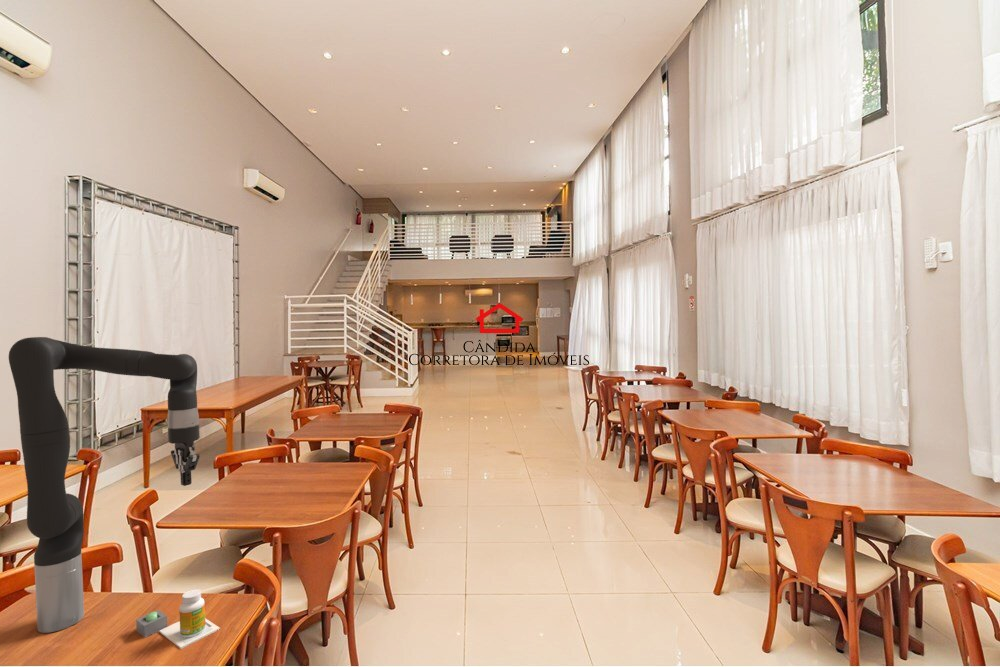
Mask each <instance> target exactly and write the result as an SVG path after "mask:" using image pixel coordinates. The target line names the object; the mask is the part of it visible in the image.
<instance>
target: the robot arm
mask: <svg viewBox="0 0 1000 667" xmlns="http://www.w3.org/2000/svg"><path fill="white" fill-rule="evenodd" d="M8 361H9V362H8V363H9V367H10V371H11V375H12V378H13V382H14V386H15V391H16V395H17V409H18V418H19V419H18V420H19V431H20V432H19V433H20V444H21V450H22V456H23V463H24V470H25V471H24V472H25V479H26V485H27V503H26V525H27V529H28V530H29V532H30V533H31V534H32V535H33V536H34V537H36V538H38V544H37V547H36V549H35V551H34V554H33V560H34V561H33V562H34V564H33V565H34V582H35V583H34V584H35V602H36V603H35V604H36V605H35V606H36V607H35V608H36V625H37V632H38V633H41V634H42V633H43V634H46V633H47V634H48V633H54V632H58V631H62V630H64V629H68V628H70V627H72V626H74V625H75V624H77V623H79V622H80V621H81V620H83V618H84V617H85V607H84V606H85V604H84V601H85V600H84V599H85V598H84V580H83V563H82V562H83V561H82V558H83V557H82V545H83V544H82V543H83V540H84V529H85V528H84V508H83V504H82V501H81V500H80V498H78V497H77V496H76V495H74V494H71V493H67V491H66V483H65V482H66V481H65V480H66V478H65V477H66V472H67V467H68V463H69V458H70V452H71V451H70V450H71V436H70V433H71V432H70V427H69V420H68V417H67V415H66V412H65V410H64V407H63V405H62V404H61V402H60V400H59V399H58V396H57V393H56V390H55V378H54V377H55V376H54V371H55V370H72V369H73V370H88V371H89V370H90V371H96V372H103V373H107V374H108V373H109V374H113V375H122V376H131V377H132V376H133V377H151V378H158V379H164V380H169V390H168V393H167V420H166V421H167V437H168V440H167V442H168V443H169V444H174V450H173V449H172V450H171V451H170V455H171V458H172V461H173V463H174V465H175V466H174V467H175V469H176V470H178V472H179V475H180V485H181V486H183V487H186V486H189V485H191V484H192V472H193V471H195V470H196V467H197V465H198V462H199V459H200V457H201V456H200V454H199V453H197V454H196V446H195V443H194V442H195V441H198V440H199V439H200V437H201V436H200V416H199V410H198V395H197V384H198V382H197V381H198V380H197V379H198V365H197V360H195V358H194V357H193V356H192V355H190V354H187V353H186V354H185V353H179V354H166V353H155V352H152V351H148V350H137V349H127V348H126V349H125V348H111V347H109V348H108V347H107V348H106V347H97V346H96V347H95V346H88V345H80V344H75V343H71V342H67V341H66V342H65V341H62V340H58V339H53V338H50V337H47V336H34V337H33V336H31V337H25V338H21V339H20V340H17V341H16V342H14V344H12V346H11V347H10V349H9V352H8Z"/></svg>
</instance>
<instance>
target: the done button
mask: <svg viewBox="0 0 1000 667" xmlns="http://www.w3.org/2000/svg"><path fill="white" fill-rule="evenodd" d="M145 615H146V622H147V623H148V622H150V621H152V620H154V619H156V618H157V612H155V611H151V612H149V613H147V614H145Z"/></svg>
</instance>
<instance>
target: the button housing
mask: <svg viewBox="0 0 1000 667" xmlns="http://www.w3.org/2000/svg"><path fill="white" fill-rule="evenodd" d="M154 612H157V618H156V619H154V620H152V621H150V622H148V623H147V622H146V615H147V614H145V615H143V616H141V617H138V618H136V621H135V622H136V624H135V625H136V632H137V633H139V634H140V635H141V636H142V637H143V638H148V637H150V636H152V635H154V634H157V633H158V632H159V631H160V630H162V629H164V628H166V627H168V615H166V614H165V613H164V612H162V611H161V610H159V609H157V610H155V611H154ZM153 633H154V634H153ZM151 634H152V635H151ZM149 635H150V636H149Z"/></svg>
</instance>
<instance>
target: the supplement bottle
mask: <svg viewBox="0 0 1000 667" xmlns="http://www.w3.org/2000/svg"><path fill="white" fill-rule="evenodd" d="M181 598H182V599H181V601H182V603H181V604H180V605H179V609H178V610H179V611H178V612H179V621H180V635H181V636H182V637H185V638H188V637H193V636H196V635H198V634H200V633H201V632H203V631H204V629H205V618H206V608H205V606H206V604H205V599H204V598H203V597H202V591H201V589H197V588H196V589H191V590H188V591H185V592H184V593H183V594H182V596H181Z"/></svg>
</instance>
